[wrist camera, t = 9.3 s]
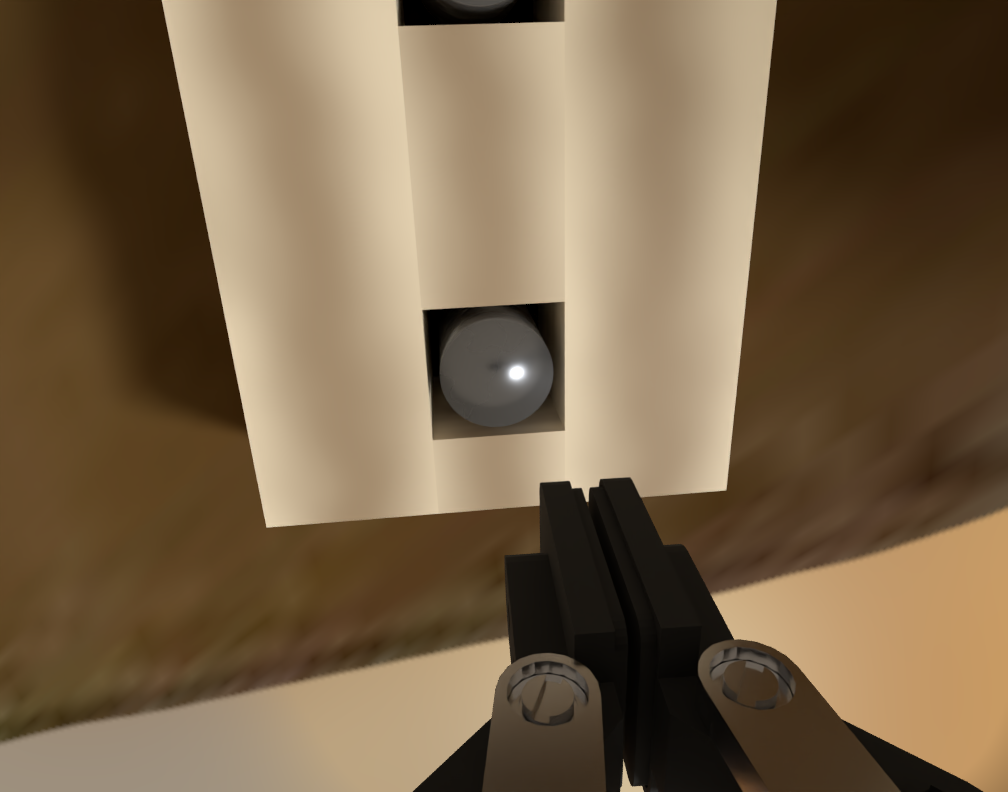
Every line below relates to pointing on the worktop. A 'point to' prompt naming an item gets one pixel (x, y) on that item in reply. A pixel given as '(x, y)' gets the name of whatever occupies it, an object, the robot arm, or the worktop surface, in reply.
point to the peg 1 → (469, 11)
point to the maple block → (477, 237)
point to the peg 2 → (493, 363)
